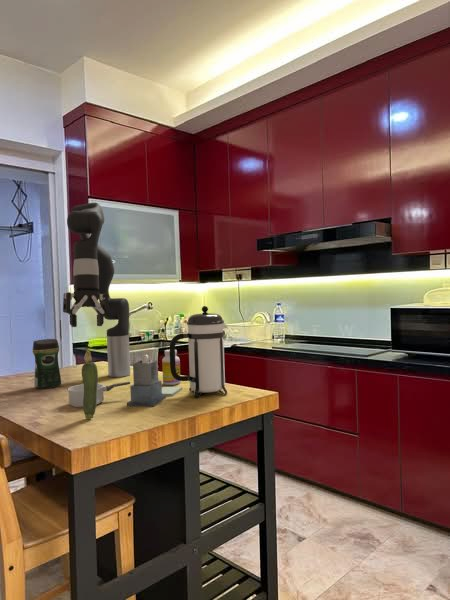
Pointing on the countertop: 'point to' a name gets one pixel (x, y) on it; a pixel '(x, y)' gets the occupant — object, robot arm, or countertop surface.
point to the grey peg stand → (146, 392)
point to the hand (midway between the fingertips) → (87, 326)
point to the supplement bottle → (167, 375)
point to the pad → (170, 390)
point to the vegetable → (89, 385)
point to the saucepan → (78, 393)
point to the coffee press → (203, 353)
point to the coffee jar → (46, 363)
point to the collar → (145, 372)
